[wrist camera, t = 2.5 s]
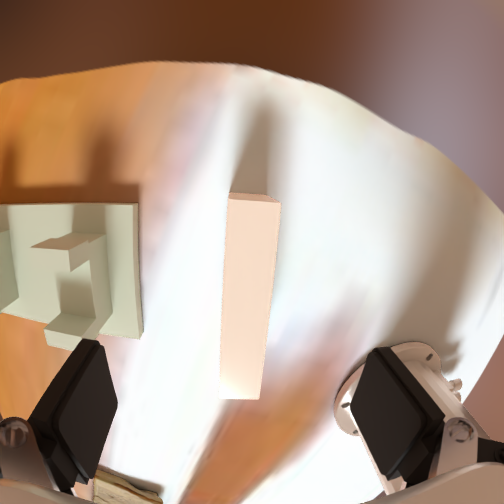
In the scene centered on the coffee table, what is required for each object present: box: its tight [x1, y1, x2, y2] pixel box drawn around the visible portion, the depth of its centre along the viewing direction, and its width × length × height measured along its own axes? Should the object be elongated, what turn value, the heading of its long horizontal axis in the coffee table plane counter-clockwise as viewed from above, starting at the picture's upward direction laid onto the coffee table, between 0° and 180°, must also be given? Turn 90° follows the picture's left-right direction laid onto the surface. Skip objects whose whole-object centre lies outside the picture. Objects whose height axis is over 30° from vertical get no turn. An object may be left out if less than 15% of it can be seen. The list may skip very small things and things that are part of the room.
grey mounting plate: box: [0, 203, 144, 351], centre depth 16 cm, size 17×10×6 cm, turn 85°
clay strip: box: [219, 192, 281, 399], centre depth 18 cm, size 12×2×6 cm, turn 175°
